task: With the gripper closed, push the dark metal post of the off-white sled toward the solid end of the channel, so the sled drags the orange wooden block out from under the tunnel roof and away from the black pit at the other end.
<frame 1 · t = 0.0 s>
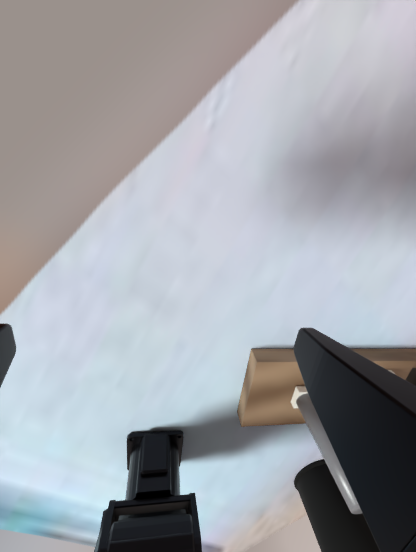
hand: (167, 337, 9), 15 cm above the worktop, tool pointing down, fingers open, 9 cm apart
aerosol can: (318, 473, 42), on the worktop
channel: (343, 378, 33), on the worktop
sled: (368, 437, 26), point 7 cm above the worktop, slide at 0.0 cm
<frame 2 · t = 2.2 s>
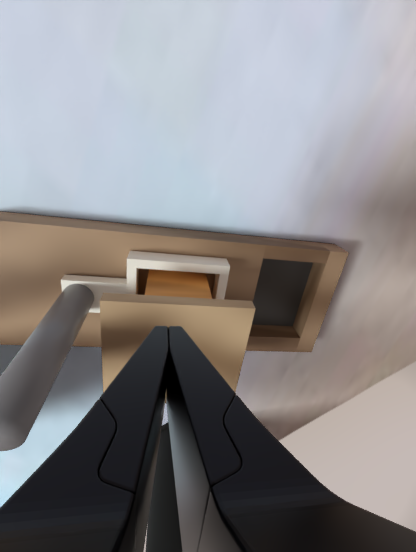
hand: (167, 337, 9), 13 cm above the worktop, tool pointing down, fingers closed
block: (175, 295, 20), point 2 cm above the worktop, touching channel
aerosol can: (187, 439, 31), on the worktop
channel: (175, 283, 22), on the worktop
sled: (138, 341, 15), point 7 cm above the worktop, slide at 0.0 cm
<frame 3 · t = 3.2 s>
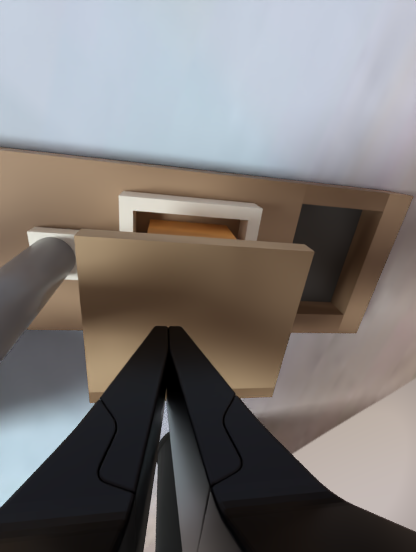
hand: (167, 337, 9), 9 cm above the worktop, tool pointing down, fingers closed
block: (186, 257, 15), point 2 cm above the worktop, touching channel
aerosol can: (199, 446, 26), on the worktop
channel: (184, 245, 17), on the worktop
sled: (138, 307, 10), point 7 cm above the worktop, slide at 0.0 cm
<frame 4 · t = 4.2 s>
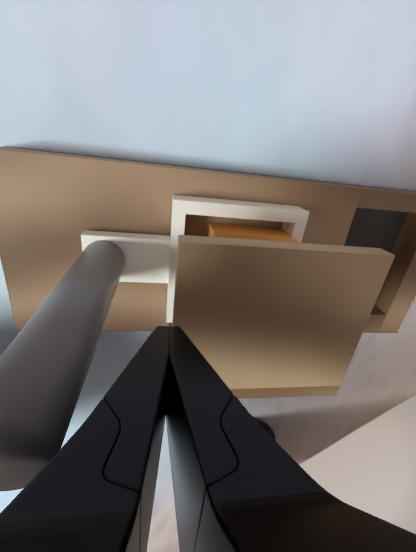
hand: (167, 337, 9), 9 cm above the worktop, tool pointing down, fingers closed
block: (239, 260, 16), point 2 cm above the worktop
channel: (234, 248, 17), on the worktop
sled: (202, 309, 10), point 7 cm above the worktop, slide at 0.8 cm, touching gripper
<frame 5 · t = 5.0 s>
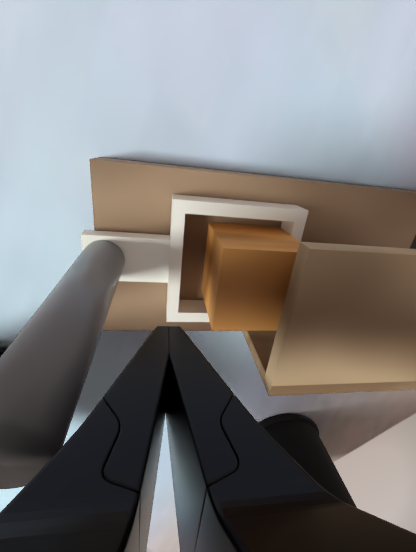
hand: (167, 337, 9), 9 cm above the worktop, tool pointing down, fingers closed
block: (239, 259, 16), point 2 cm above the worktop
aerosol can: (277, 439, 27), on the worktop
channel: (300, 251, 18), on the worktop
sled: (202, 308, 10), point 7 cm above the worktop, slide at 5.4 cm, touching gripper
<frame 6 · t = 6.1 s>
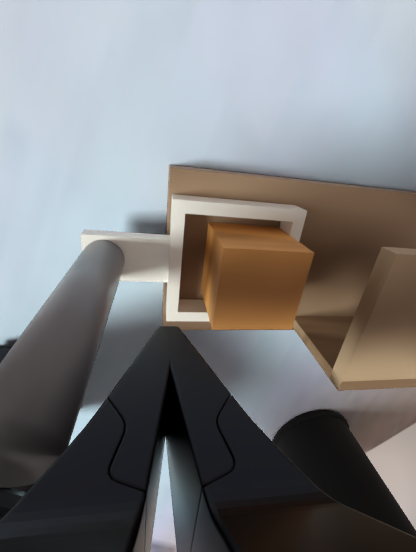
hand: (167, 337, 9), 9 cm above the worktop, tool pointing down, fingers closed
block: (238, 258, 16), point 2 cm above the worktop, touching channel, sled
aerosol can: (308, 435, 28), on the worktop
channel: (346, 253, 19), on the worktop
sled: (203, 307, 10), point 7 cm above the worktop, slide at 9.1 cm, touching block, gripper
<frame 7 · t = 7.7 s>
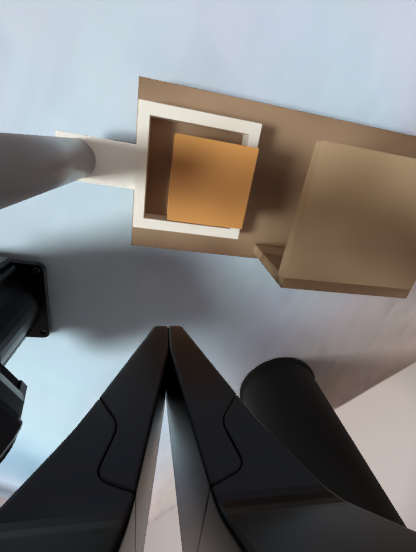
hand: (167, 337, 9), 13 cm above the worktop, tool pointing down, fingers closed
block: (202, 176, 17), point 2 cm above the worktop, touching channel
aerosol can: (275, 385, 29), on the worktop
channel: (309, 191, 20), on the worktop
sled: (153, 179, 12), point 7 cm above the worktop, slide at 9.0 cm
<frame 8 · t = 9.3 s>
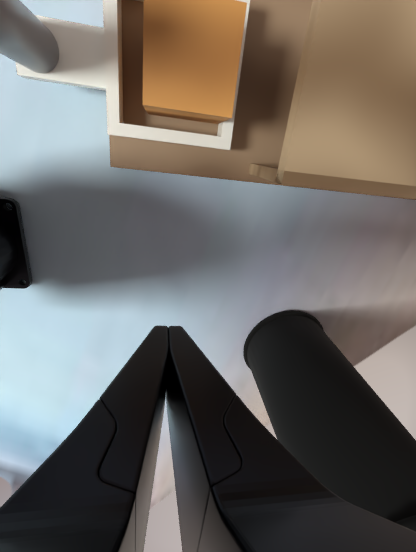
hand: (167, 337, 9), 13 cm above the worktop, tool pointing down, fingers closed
block: (186, 77, 15), point 2 cm above the worktop, touching channel
aerosol can: (282, 343, 27), on the worktop
channel: (309, 105, 18), on the worktop
sled: (118, 30, 10), point 7 cm above the worktop, slide at 9.0 cm
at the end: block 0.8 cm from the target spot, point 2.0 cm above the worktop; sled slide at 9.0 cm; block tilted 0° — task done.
